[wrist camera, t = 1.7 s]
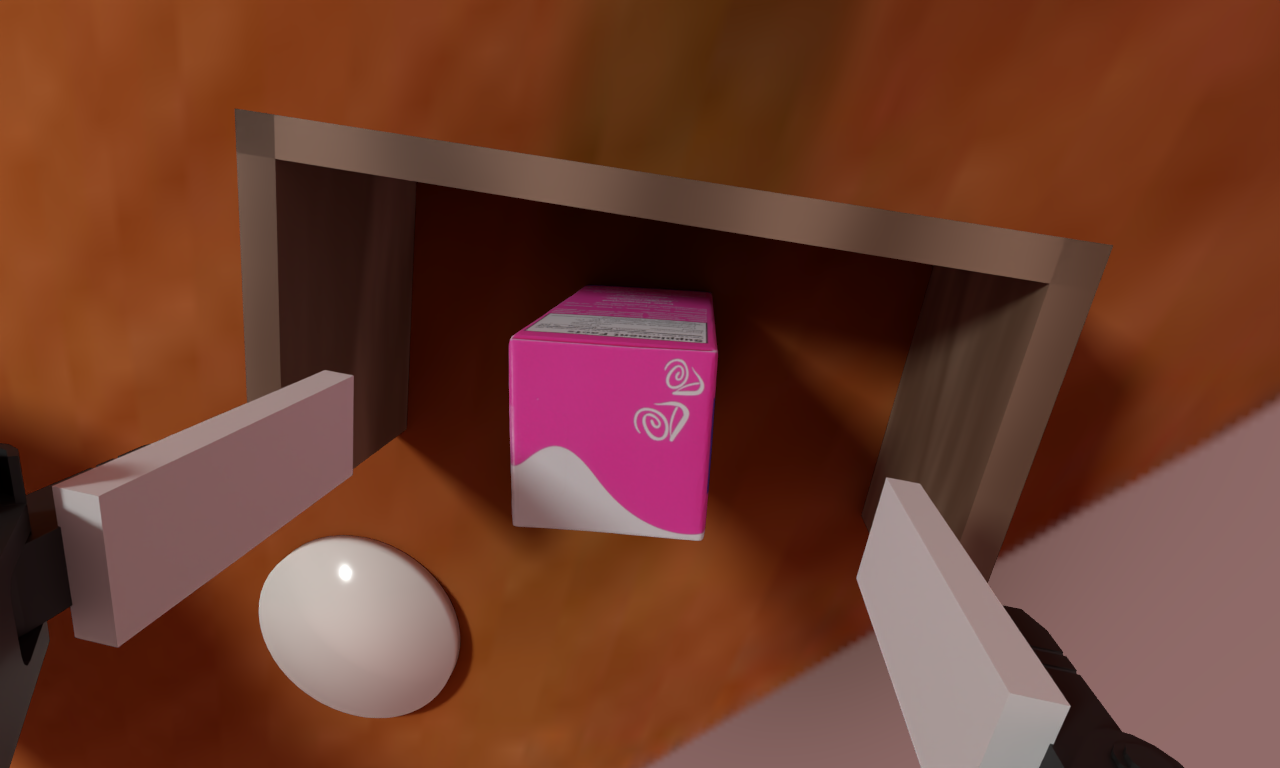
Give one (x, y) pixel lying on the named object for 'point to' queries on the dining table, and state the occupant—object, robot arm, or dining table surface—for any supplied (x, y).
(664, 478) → the supplement box
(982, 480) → the cubby
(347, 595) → the pebble
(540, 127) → the dining table surface
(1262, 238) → the dining table surface
